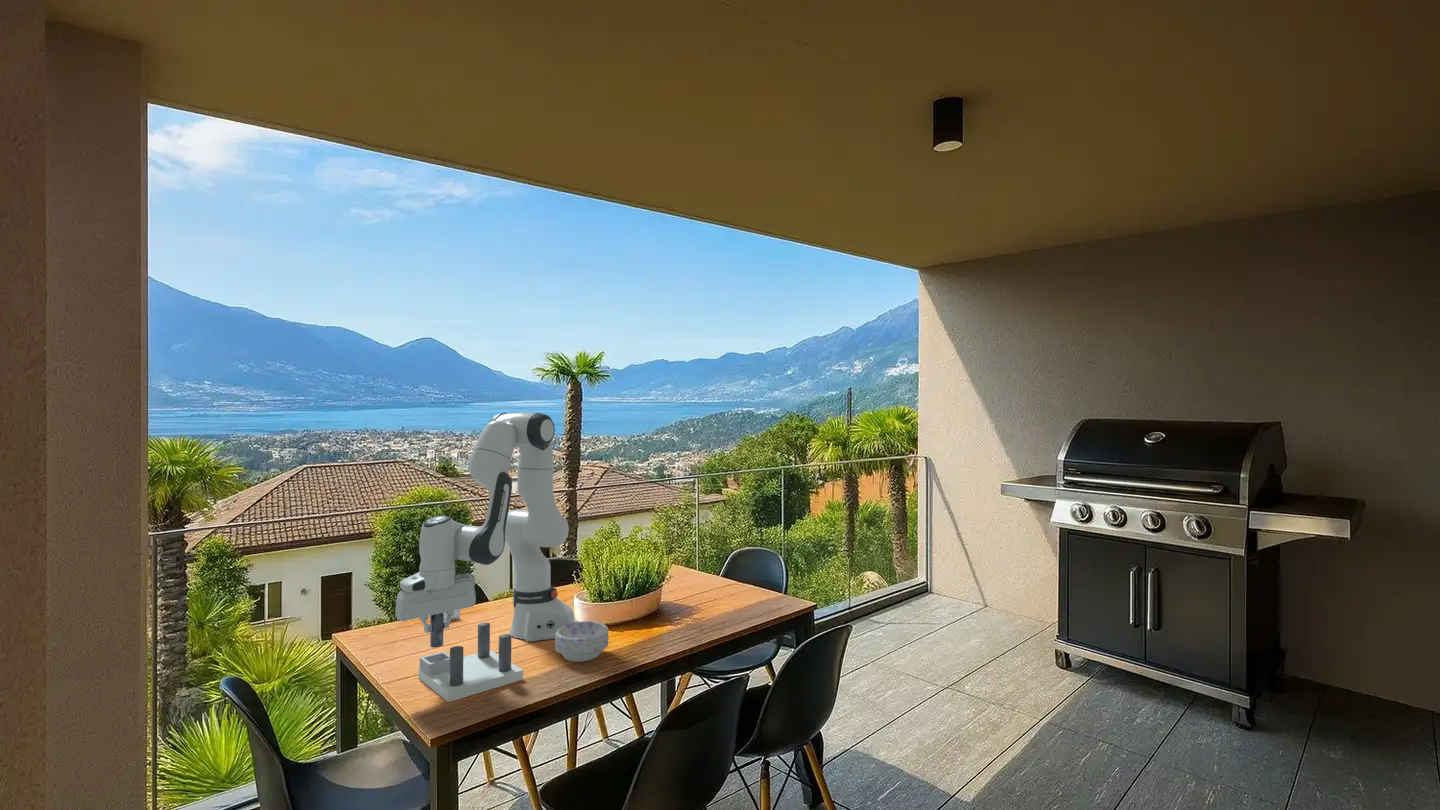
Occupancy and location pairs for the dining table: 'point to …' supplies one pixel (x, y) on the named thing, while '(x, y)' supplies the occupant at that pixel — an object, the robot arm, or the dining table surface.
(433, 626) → the stool leg
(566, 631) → the paper bowls
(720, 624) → the dining table surface
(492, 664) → the stool seat
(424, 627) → the robot arm
